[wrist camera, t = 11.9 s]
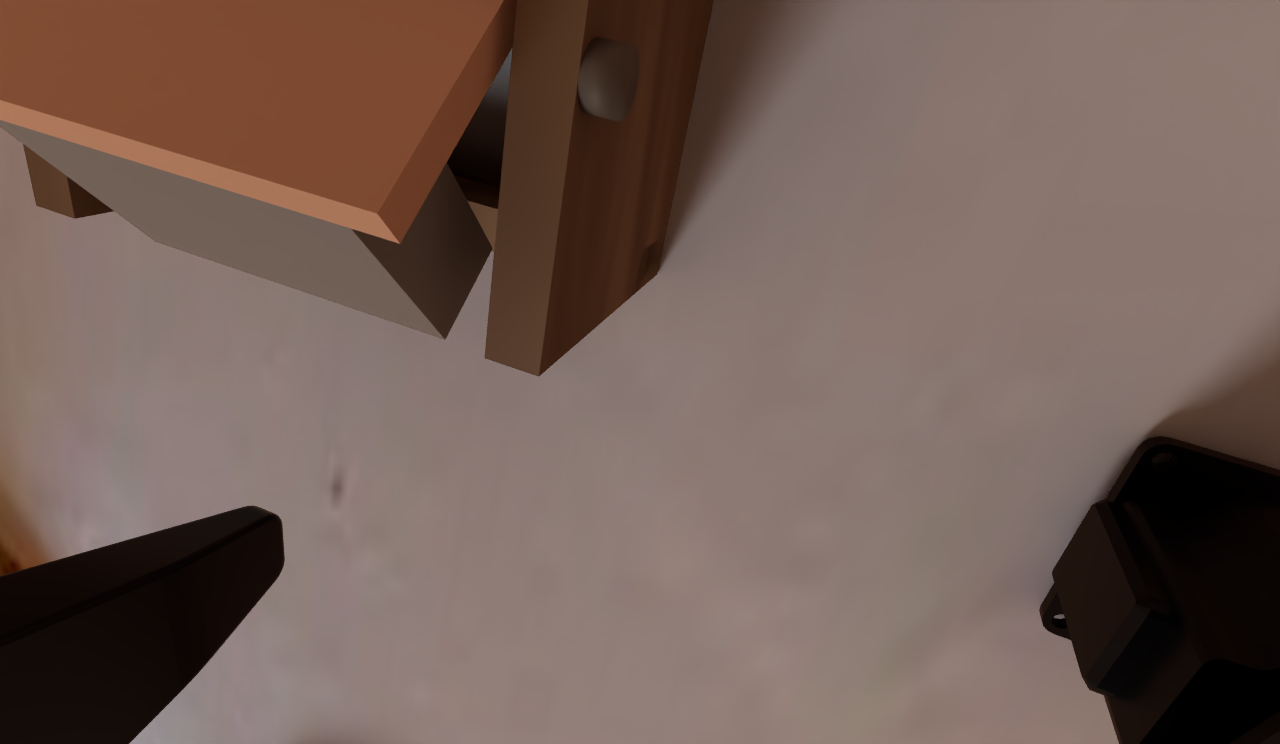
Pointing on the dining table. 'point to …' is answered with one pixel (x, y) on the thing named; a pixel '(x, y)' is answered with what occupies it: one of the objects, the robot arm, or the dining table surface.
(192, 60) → the trapdoor
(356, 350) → the dining table surface
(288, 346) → the dining table surface
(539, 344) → the trapdoor frame
